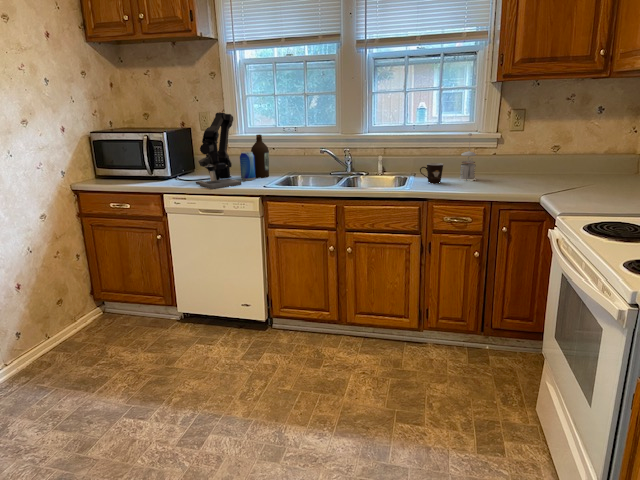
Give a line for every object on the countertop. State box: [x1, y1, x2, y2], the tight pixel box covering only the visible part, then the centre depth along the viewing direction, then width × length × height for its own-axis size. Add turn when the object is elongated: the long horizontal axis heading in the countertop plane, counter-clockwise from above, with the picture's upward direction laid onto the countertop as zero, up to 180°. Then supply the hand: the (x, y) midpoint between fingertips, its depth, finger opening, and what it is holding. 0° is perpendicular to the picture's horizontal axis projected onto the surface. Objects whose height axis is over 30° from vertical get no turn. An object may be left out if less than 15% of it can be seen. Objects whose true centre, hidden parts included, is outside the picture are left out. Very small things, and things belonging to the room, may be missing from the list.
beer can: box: [239, 151, 256, 182], centre depth 280 cm, size 8×8×16 cm
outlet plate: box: [199, 177, 242, 190], centre depth 265 cm, size 18×14×2 cm
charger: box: [209, 171, 221, 181], centre depth 278 cm, size 4×4×6 cm
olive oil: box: [250, 134, 270, 179], centre depth 287 cm, size 11×11×25 cm
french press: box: [459, 133, 477, 180], centre depth 260 cm, size 10×12×25 cm
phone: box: [195, 180, 205, 186], centre depth 271 cm, size 4×7×1 cm, turn 40°
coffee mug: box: [419, 162, 444, 184], centre depth 257 cm, size 12×9×10 cm
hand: (215, 179), depth 278 cm, fingers open, 6 cm apart
